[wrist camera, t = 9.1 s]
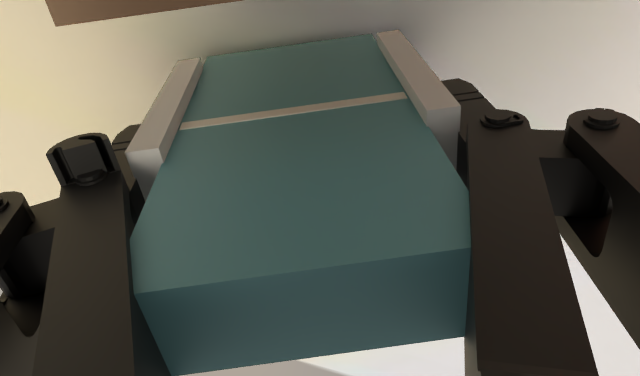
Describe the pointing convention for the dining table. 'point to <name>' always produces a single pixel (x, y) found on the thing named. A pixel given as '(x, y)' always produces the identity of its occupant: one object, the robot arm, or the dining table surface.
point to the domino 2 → (300, 215)
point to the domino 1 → (115, 8)
